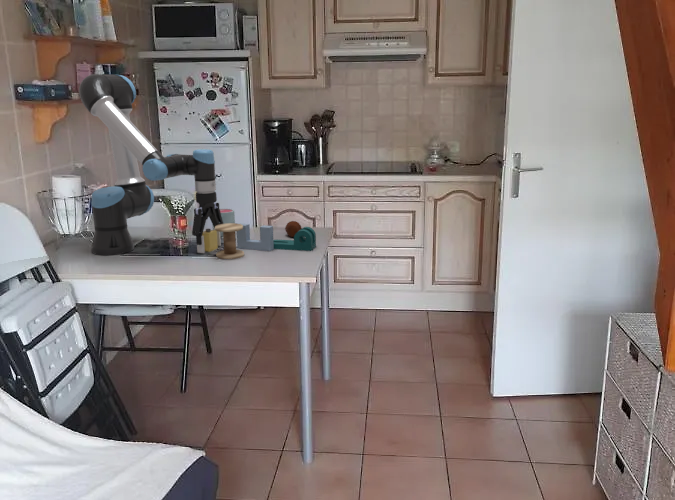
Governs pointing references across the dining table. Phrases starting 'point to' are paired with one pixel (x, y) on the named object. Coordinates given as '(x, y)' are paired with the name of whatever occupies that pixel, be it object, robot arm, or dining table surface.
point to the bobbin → (229, 241)
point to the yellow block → (210, 240)
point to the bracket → (298, 241)
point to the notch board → (262, 244)
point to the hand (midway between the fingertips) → (209, 249)
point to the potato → (292, 228)
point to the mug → (226, 217)
